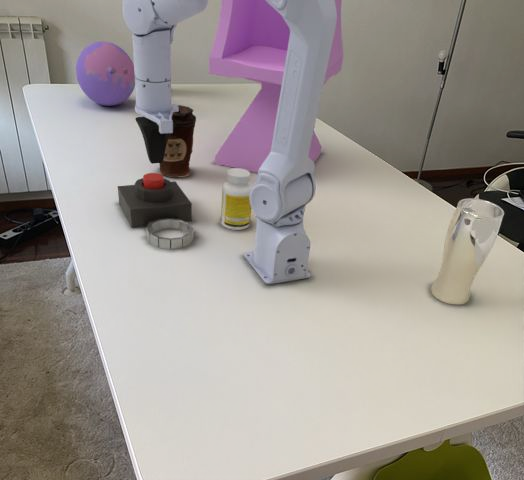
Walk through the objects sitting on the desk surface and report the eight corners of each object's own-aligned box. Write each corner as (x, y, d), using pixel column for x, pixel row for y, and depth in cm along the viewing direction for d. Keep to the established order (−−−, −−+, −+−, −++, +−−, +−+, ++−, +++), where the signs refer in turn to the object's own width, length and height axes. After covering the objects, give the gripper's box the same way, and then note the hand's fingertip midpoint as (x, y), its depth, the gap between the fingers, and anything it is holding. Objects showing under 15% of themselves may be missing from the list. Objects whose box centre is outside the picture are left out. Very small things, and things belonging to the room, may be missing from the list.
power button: (166, 189, 98) (166, 180, 97) (146, 191, 97) (146, 181, 96) (160, 181, 101) (160, 172, 99) (141, 183, 99) (140, 173, 98)
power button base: (191, 221, 100) (191, 192, 97) (131, 228, 96) (129, 198, 93) (175, 198, 107) (175, 170, 104) (119, 203, 103) (116, 175, 100)
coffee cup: (187, 183, 113) (187, 118, 105) (149, 177, 114) (146, 112, 106) (199, 168, 120) (200, 106, 111) (163, 162, 120) (161, 100, 112)
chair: (206, 164, 122) (213, -96, 93) (241, 135, 139) (256, -93, 110) (303, 185, 118) (341, -81, 89) (327, 152, 134) (365, -80, 106)
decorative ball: (98, 116, 140) (91, 51, 130) (69, 100, 148) (61, 37, 138) (148, 108, 148) (145, 46, 139) (118, 93, 156) (114, 34, 147)
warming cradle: (198, 245, 94) (199, 236, 93) (153, 251, 91) (153, 242, 90) (183, 222, 100) (183, 213, 99) (140, 226, 97) (140, 217, 96)
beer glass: (439, 277, 93) (468, 193, 83) (478, 294, 90) (512, 209, 80) (420, 293, 88) (448, 206, 79) (461, 312, 85) (495, 223, 76)
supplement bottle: (255, 228, 101) (259, 176, 94) (229, 233, 98) (232, 180, 92) (241, 215, 104) (244, 164, 98) (215, 220, 102) (217, 168, 96)
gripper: (191, 90, 84) (190, 176, 93) (164, 65, 94) (166, 145, 103) (145, 91, 82) (149, 179, 90) (123, 66, 91) (128, 148, 100)
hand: (156, 161), depth 96 cm, fingers closed
